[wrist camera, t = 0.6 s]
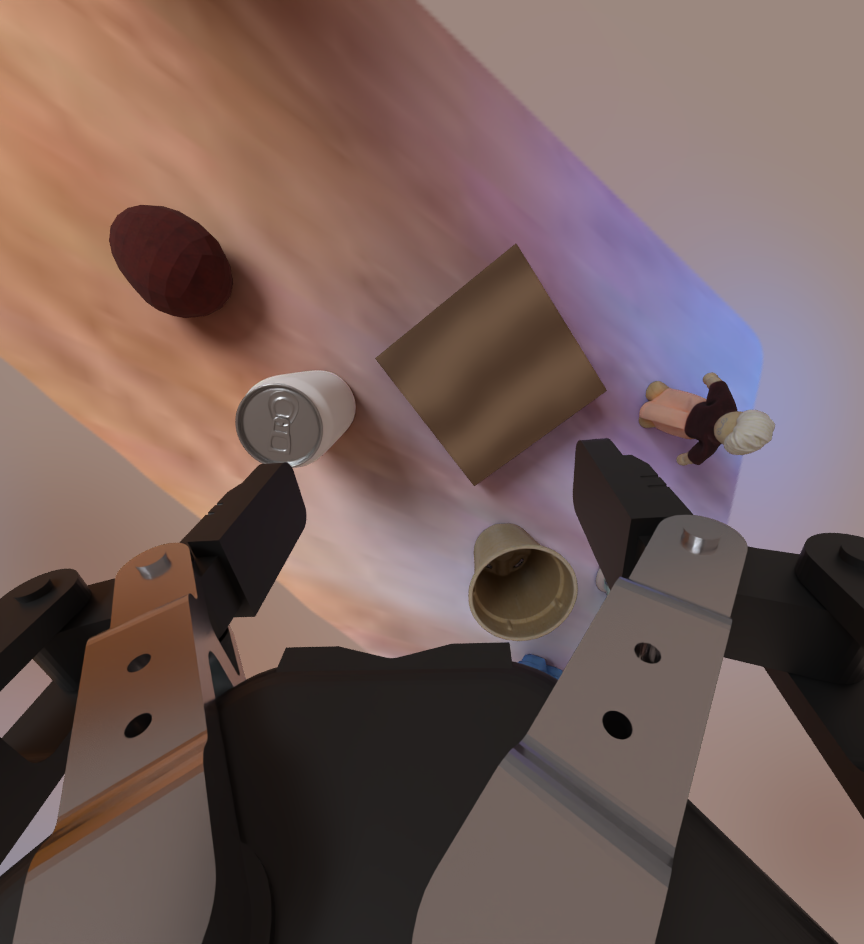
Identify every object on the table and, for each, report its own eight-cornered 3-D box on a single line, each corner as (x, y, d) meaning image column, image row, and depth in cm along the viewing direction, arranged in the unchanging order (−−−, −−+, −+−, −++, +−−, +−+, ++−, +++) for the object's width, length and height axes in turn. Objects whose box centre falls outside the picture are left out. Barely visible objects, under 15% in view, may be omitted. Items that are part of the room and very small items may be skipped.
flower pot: (477, 495, 40) (492, 532, 32) (560, 521, 41) (596, 563, 33) (446, 573, 43) (453, 625, 34) (526, 596, 44) (551, 652, 36)
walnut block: (379, 358, 36) (375, 358, 32) (505, 255, 34) (516, 243, 30) (468, 473, 40) (474, 486, 36) (587, 386, 37) (606, 390, 34)
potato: (163, 199, 32) (96, 157, 25) (259, 261, 34) (220, 238, 27) (130, 282, 34) (59, 264, 27) (223, 338, 35) (177, 334, 29)
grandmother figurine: (638, 371, 37) (745, 379, 25) (678, 369, 37) (804, 376, 25) (630, 450, 39) (724, 492, 27) (667, 448, 40) (778, 490, 27)
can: (361, 377, 37) (335, 387, 25) (351, 444, 38) (323, 482, 27) (290, 363, 36) (231, 366, 24) (284, 431, 38) (225, 465, 26)
